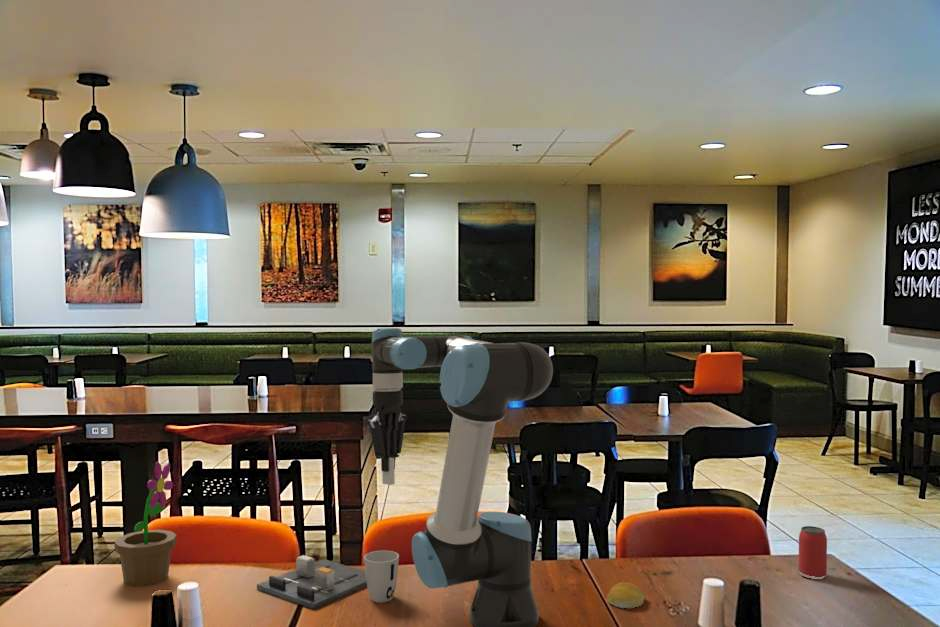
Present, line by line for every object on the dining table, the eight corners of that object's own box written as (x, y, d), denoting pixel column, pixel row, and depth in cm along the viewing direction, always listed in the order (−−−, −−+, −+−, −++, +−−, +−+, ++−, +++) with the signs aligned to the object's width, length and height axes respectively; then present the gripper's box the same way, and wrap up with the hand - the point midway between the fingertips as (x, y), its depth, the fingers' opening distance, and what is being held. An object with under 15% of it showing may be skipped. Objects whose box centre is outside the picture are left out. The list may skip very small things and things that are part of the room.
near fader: (334, 587, 182) (334, 569, 182) (326, 590, 180) (326, 572, 180) (322, 583, 184) (322, 566, 184) (315, 587, 183) (315, 569, 182)
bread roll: (604, 607, 175) (604, 590, 175) (612, 593, 184) (612, 576, 184) (640, 612, 172) (640, 595, 172) (647, 598, 181) (647, 581, 180)
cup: (392, 606, 175) (393, 563, 174) (359, 603, 176) (359, 560, 176) (403, 593, 183) (403, 551, 182) (370, 590, 184) (370, 549, 184)
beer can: (800, 579, 193) (800, 531, 192) (796, 570, 199) (797, 524, 199) (828, 581, 191) (829, 534, 190) (824, 572, 197) (825, 526, 197)
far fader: (314, 575, 190) (314, 558, 190) (307, 577, 188) (307, 560, 188) (303, 571, 193) (303, 554, 193) (296, 574, 191) (296, 557, 191)
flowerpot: (158, 591, 183) (157, 467, 183) (102, 588, 185) (101, 465, 184) (187, 569, 198) (186, 454, 197) (135, 567, 199) (134, 453, 199)
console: (379, 580, 191) (379, 567, 191) (313, 609, 173) (313, 595, 173) (324, 563, 202) (324, 551, 202) (256, 589, 185) (256, 576, 185)
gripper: (392, 386, 198) (393, 477, 198) (358, 391, 187) (359, 487, 187) (415, 388, 194) (416, 480, 194) (382, 392, 183) (383, 490, 183)
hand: (388, 483), depth 190 cm, fingers closed
